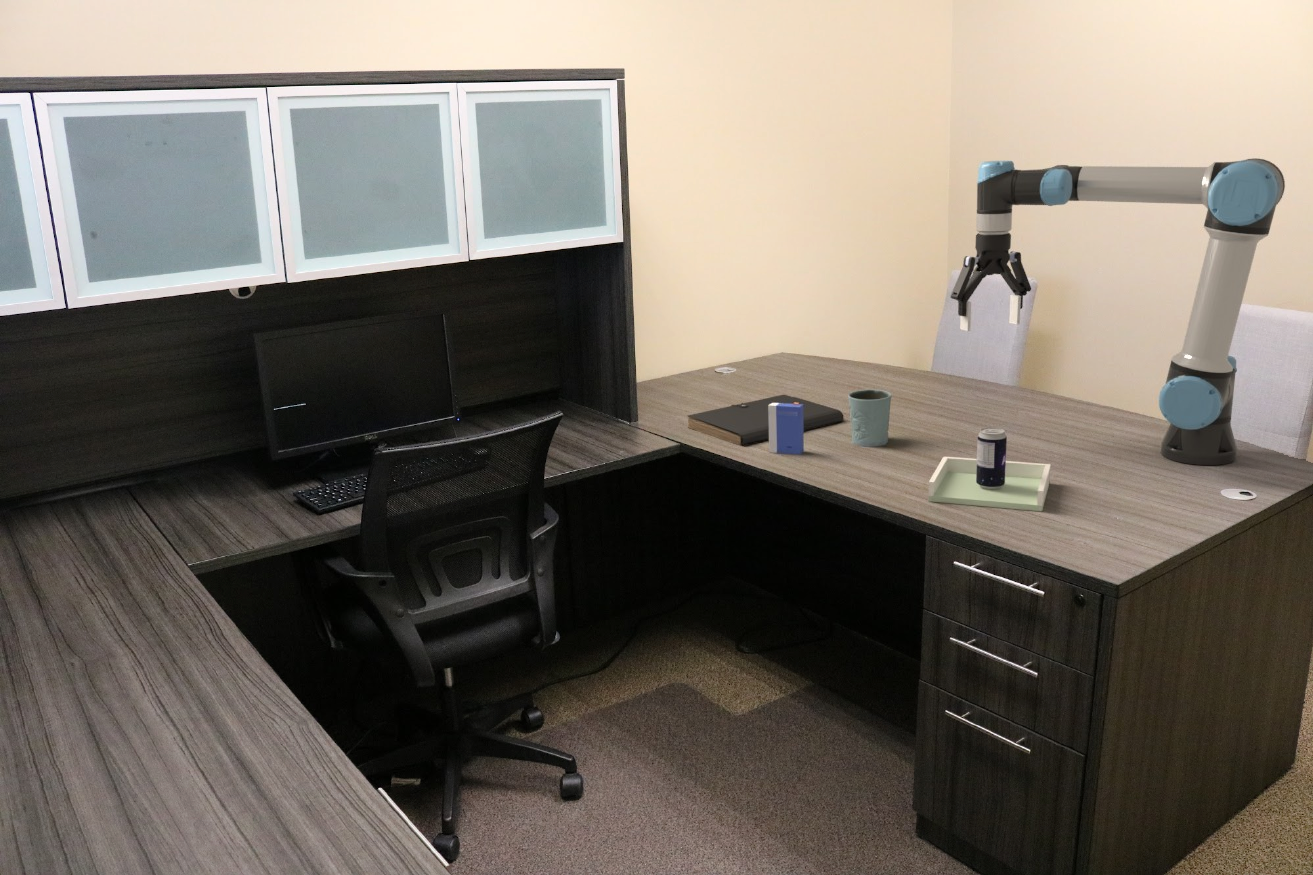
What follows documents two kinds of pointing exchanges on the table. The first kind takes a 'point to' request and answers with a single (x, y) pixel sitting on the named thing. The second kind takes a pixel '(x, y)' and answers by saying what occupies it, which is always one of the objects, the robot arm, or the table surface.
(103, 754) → the table surface
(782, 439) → the walkman
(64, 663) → the table surface
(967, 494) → the box
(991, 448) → the beverage can
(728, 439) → the leather journal
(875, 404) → the embossed teal cup
